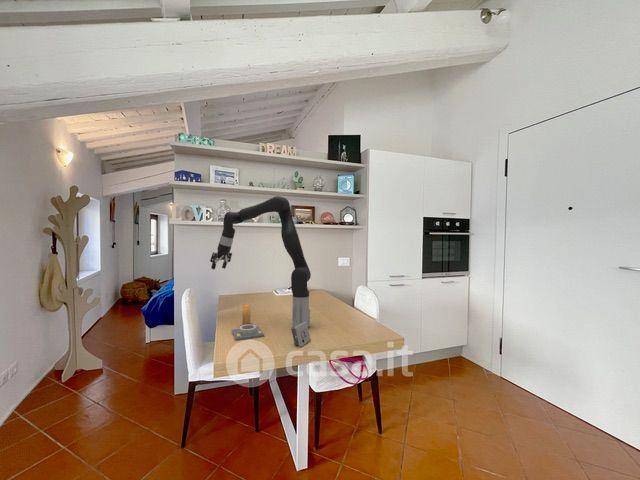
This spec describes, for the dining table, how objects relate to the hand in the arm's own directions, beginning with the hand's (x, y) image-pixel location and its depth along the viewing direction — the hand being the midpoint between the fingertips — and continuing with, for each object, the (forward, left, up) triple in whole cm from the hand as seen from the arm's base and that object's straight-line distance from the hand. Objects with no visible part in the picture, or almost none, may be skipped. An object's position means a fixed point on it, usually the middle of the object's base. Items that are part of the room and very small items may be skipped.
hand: (218, 268), depth 167 cm
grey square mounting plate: (-12, +36, -30) cm, 48 cm away
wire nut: (-14, +20, -30) cm, 38 cm away
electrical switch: (-33, +58, -30) cm, 73 cm away
